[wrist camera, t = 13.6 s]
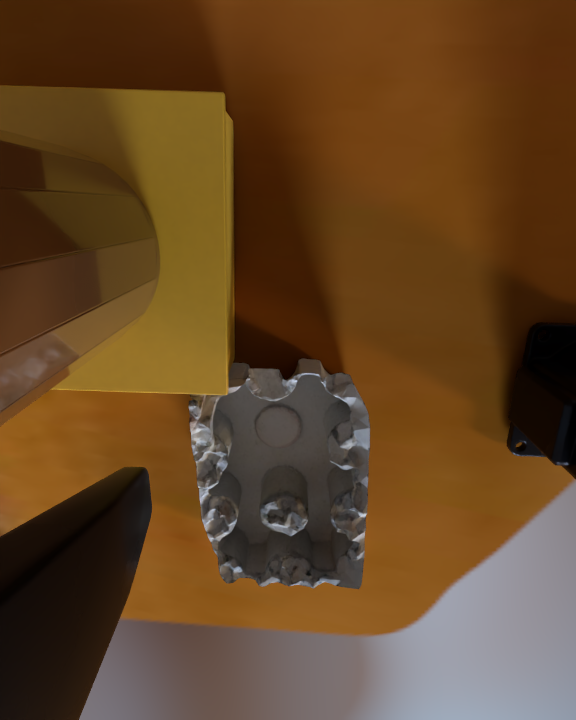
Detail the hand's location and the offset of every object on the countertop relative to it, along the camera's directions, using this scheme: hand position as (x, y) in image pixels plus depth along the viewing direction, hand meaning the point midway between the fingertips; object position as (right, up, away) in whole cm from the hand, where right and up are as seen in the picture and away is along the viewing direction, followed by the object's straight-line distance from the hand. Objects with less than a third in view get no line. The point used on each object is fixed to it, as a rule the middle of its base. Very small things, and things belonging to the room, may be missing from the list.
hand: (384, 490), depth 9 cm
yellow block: (-10, +7, +11) cm, 17 cm away
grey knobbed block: (-2, -2, +15) cm, 15 cm away
